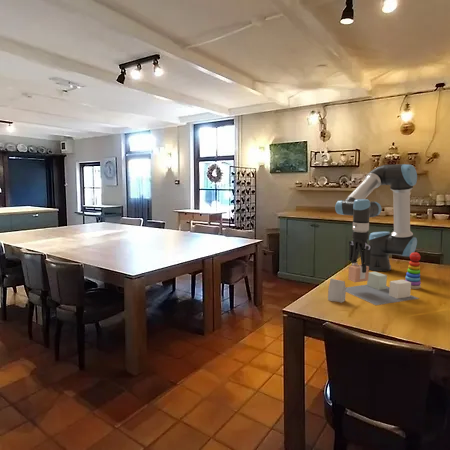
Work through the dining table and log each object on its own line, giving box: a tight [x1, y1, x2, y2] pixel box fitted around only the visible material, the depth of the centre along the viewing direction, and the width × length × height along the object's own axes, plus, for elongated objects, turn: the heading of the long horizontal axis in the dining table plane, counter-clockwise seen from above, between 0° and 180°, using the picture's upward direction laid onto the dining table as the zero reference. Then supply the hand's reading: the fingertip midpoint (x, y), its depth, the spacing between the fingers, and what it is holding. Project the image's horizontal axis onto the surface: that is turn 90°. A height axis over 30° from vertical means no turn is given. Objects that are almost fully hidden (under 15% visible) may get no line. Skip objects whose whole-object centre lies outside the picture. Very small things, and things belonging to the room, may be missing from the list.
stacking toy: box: [404, 251, 422, 290], centre depth 189 cm, size 8×8×19 cm
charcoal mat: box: [345, 284, 420, 306], centre depth 179 cm, size 26×26×1 cm
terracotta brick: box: [347, 263, 370, 283], centre depth 181 cm, size 8×5×7 cm, turn 111°
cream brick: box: [389, 279, 412, 299], centre depth 175 cm, size 8×5×7 cm, turn 111°
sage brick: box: [366, 271, 388, 290], centre depth 188 cm, size 8×5×7 cm, turn 21°
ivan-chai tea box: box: [327, 278, 347, 304], centre depth 169 cm, size 4×7×10 cm, turn 49°
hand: (358, 276), depth 181 cm, fingers closed on terracotta brick, 5 cm apart
